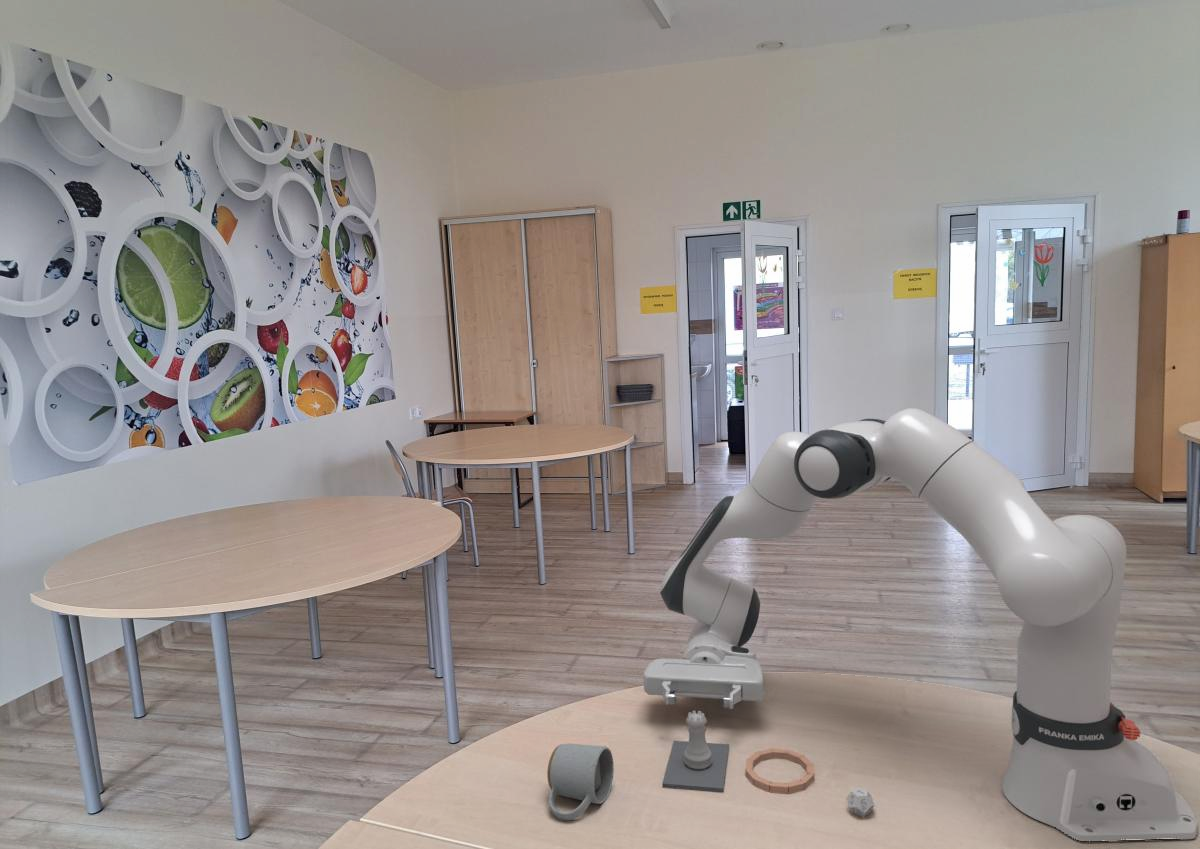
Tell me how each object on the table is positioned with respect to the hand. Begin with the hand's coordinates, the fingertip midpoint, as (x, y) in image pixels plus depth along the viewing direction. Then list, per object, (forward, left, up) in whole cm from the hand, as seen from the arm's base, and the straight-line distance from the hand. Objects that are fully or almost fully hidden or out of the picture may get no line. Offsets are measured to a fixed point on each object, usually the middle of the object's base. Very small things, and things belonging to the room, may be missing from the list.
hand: (698, 702), depth 129 cm
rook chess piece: (0, +6, -7) cm, 9 cm away
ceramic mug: (+16, +17, -8) cm, 25 cm away
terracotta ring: (-13, +6, -7) cm, 16 cm away
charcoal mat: (0, +6, -7) cm, 10 cm away
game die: (-24, +14, -8) cm, 29 cm away
